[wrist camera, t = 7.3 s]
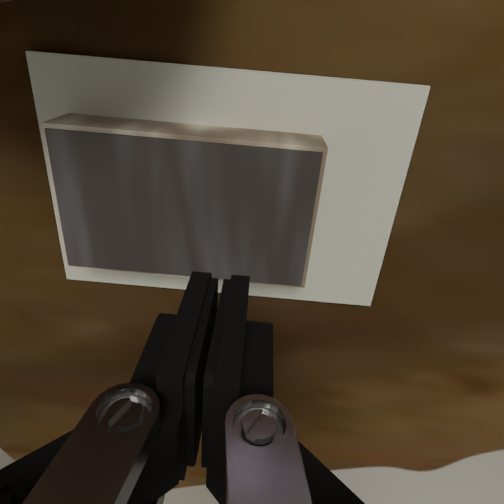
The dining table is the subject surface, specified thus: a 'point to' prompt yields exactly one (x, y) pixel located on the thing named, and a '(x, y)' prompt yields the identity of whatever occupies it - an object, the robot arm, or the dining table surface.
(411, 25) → the dining table surface
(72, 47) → the dining table surface
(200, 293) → the robot arm
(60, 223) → the ash tile
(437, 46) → the dining table surface
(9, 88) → the dining table surface
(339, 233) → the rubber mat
